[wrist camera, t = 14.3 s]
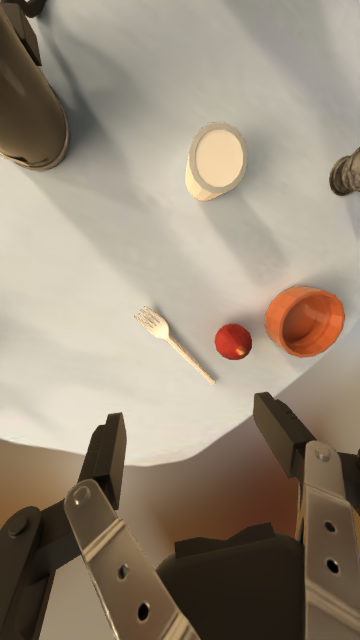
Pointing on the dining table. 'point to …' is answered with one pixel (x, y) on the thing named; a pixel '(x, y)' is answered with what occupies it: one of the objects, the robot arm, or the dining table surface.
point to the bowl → (304, 320)
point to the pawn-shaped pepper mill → (346, 174)
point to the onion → (233, 341)
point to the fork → (168, 337)
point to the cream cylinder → (215, 161)
